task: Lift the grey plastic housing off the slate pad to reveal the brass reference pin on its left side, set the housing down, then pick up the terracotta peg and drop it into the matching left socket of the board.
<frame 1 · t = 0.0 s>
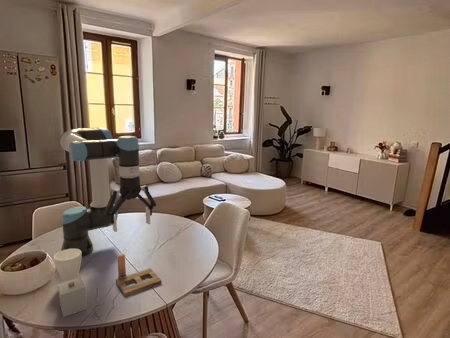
hand: (132, 226, 117), 28 cm above the table, fingers open, 13 cm apart
board: (138, 282, 127), on the table
housing: (73, 307, 111), on the table
peg: (122, 275, 133), on the table
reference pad: (73, 307, 111), on the table
cup: (70, 283, 126), on the table
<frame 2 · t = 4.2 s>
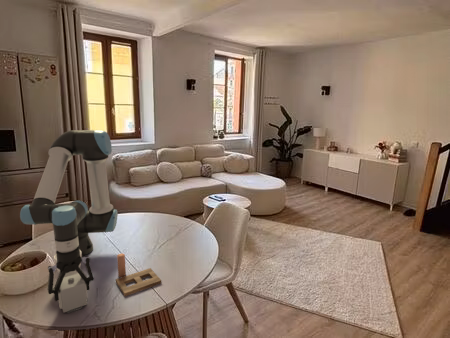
hand: (73, 302, 111), 2 cm above the table, fingers closed on housing, 8 cm apart
housing: (73, 302, 111), point 2 cm above the table, touching gripper
everything else where it was.
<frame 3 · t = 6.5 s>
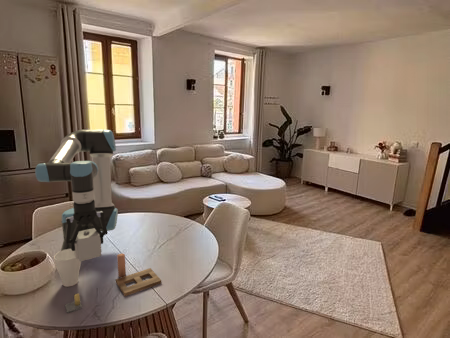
hand: (88, 254, 118), 17 cm above the table, fingers closed on housing, 8 cm apart
housing: (88, 254, 118), point 16 cm above the table, touching gripper
everything else where it was.
when the fingers open (1 cm above the table, at t = 9.1 s): housing stays where it is, on the table.
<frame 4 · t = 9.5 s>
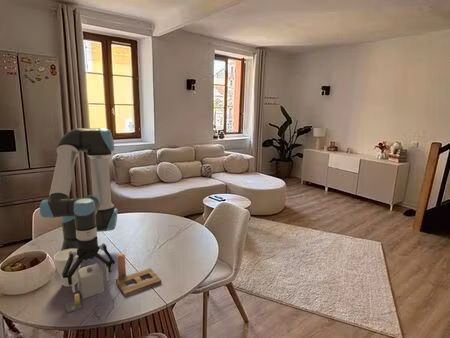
hand: (91, 285, 121), 3 cm above the table, fingers open, 12 cm apart
housing: (91, 290, 121), on the table
everything else where it was.
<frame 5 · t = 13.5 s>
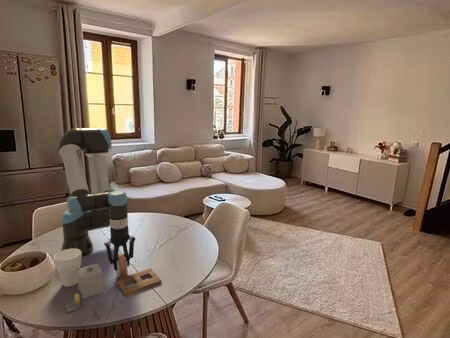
hand: (122, 274, 132), 1 cm above the table, fingers closed on peg, 3 cm apart
peg: (122, 275, 133), on the table, touching gripper
everything else where it was.
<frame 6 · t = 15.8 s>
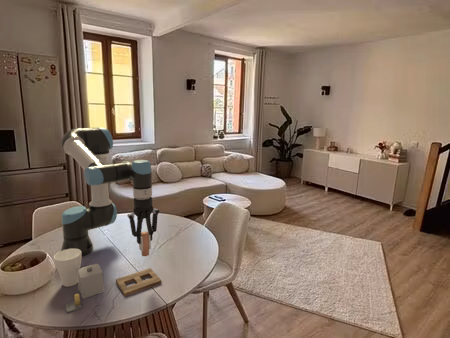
hand: (145, 248, 126), 15 cm above the table, fingers closed on peg, 3 cm apart
peg: (145, 254, 127), point 13 cm above the table, touching gripper
everything else where it was.
when the fingers open (3 cm above the table, at t = 18.1 s): peg stays where it is, resting in board.
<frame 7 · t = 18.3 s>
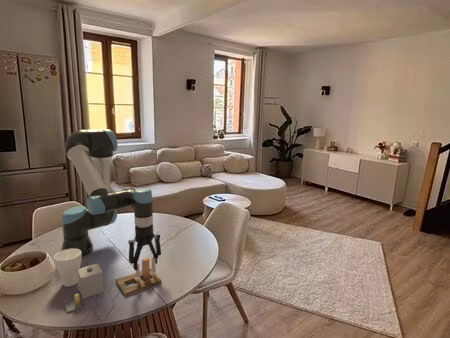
hand: (146, 273, 128), 3 cm above the table, fingers open, 7 cm apart
peg: (146, 280, 129), resting in board
everything else where it was.
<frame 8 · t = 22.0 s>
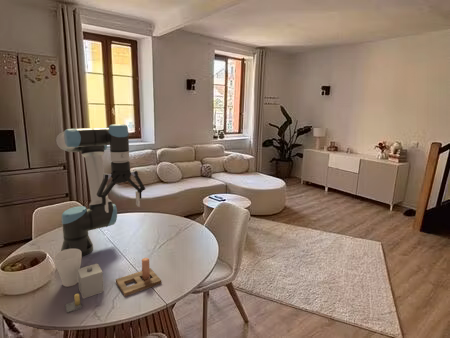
hand: (122, 208, 127), 32 cm above the table, fingers open, 13 cm apart
nothing on the table moved.
at the end: peg 0.0 cm from the target spot on the board, point 0.0 cm above the board's base; peg tilted 0°; housing moved 10.8 cm from its start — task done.
